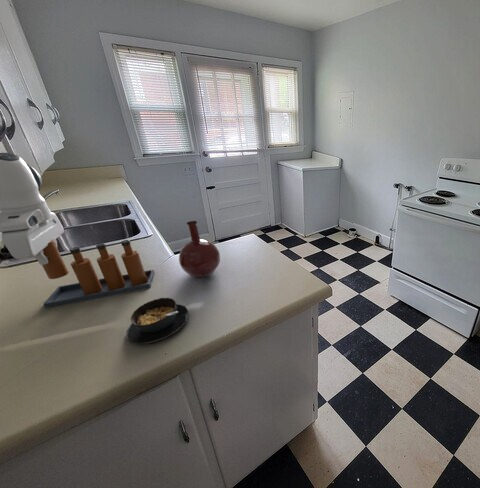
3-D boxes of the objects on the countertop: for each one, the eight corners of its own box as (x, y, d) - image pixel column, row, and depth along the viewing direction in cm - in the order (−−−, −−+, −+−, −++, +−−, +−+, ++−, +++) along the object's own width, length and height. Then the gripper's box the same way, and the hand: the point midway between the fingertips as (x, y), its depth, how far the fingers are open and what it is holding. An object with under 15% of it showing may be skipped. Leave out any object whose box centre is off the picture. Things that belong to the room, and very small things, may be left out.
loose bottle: (45, 280, 80) (19, 232, 73) (52, 273, 84) (29, 226, 77) (65, 277, 81) (41, 229, 75) (71, 270, 85) (49, 224, 79)
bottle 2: (107, 291, 87) (88, 249, 81) (111, 284, 91) (93, 243, 85) (123, 288, 89) (107, 246, 82) (127, 281, 93) (111, 240, 86)
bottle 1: (82, 296, 85) (61, 252, 79) (87, 289, 89) (68, 246, 82) (99, 293, 87) (80, 250, 80) (104, 285, 90) (86, 244, 84)
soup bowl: (180, 302, 83) (174, 281, 80) (199, 328, 72) (193, 306, 69) (122, 325, 74) (113, 303, 71) (134, 359, 63) (124, 335, 60)
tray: (46, 310, 80) (43, 304, 79) (61, 291, 89) (58, 286, 88) (150, 289, 89) (149, 283, 89) (155, 274, 98) (153, 269, 97)
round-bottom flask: (223, 263, 105) (213, 214, 97) (222, 280, 94) (211, 226, 85) (186, 268, 102) (173, 218, 93) (181, 287, 90) (165, 232, 82)
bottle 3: (130, 287, 89) (114, 245, 83) (133, 280, 93) (118, 239, 87) (146, 284, 91) (132, 242, 85) (148, 277, 95) (135, 237, 88)
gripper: (33, 206, 82) (53, 247, 88) (-12, 228, 65) (16, 277, 70) (59, 203, 84) (77, 243, 90) (22, 224, 67) (47, 272, 73)
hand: (50, 259), depth 80 cm, fingers closed on loose bottle, 4 cm apart
